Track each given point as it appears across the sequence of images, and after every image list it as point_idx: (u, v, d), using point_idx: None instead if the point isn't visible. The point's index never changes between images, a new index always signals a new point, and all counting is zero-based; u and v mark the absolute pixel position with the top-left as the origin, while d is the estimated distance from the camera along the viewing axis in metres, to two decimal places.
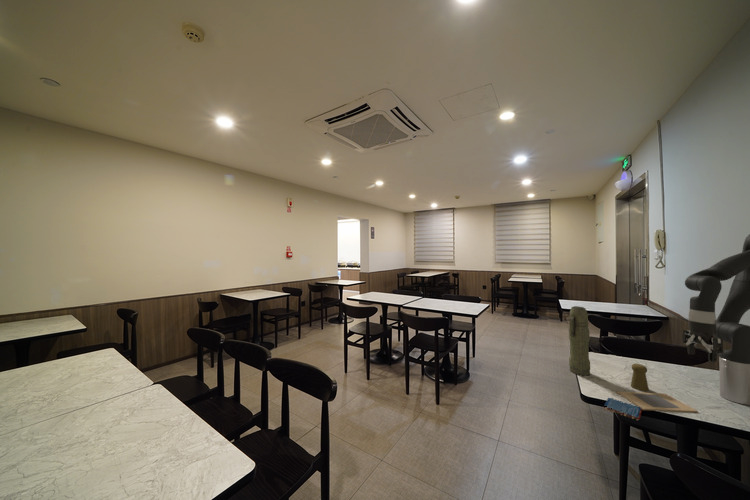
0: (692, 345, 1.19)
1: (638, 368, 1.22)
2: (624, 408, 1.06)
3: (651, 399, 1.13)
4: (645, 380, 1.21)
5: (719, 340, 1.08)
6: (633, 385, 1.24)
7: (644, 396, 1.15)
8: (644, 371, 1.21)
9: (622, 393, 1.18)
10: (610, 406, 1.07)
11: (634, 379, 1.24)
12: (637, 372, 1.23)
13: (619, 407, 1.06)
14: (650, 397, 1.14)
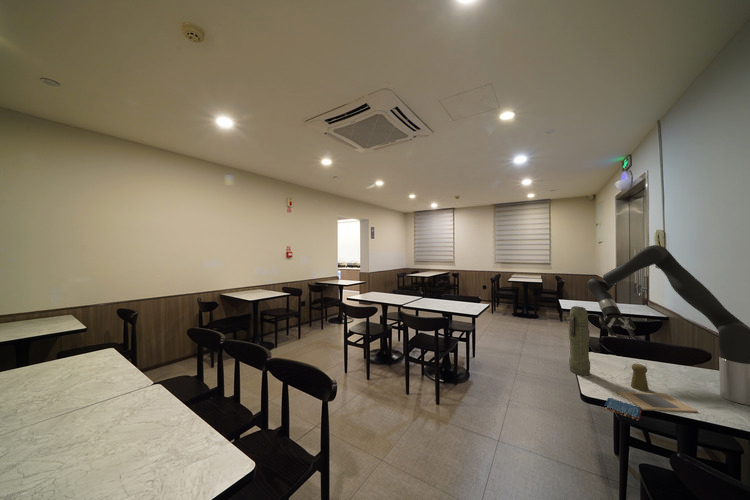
0: (629, 329, 1.36)
1: (638, 368, 1.22)
2: (624, 408, 1.06)
3: (651, 399, 1.13)
4: (645, 380, 1.21)
5: (599, 318, 1.43)
6: (633, 385, 1.24)
7: (644, 396, 1.15)
8: (644, 371, 1.21)
9: (622, 393, 1.18)
10: (610, 406, 1.07)
11: (634, 379, 1.24)
12: (637, 372, 1.23)
13: (619, 407, 1.06)
14: (650, 397, 1.14)
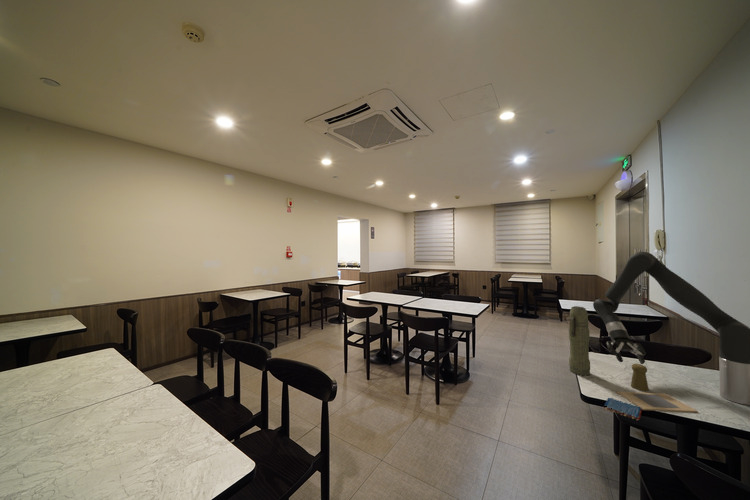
0: (638, 355, 1.30)
1: (638, 368, 1.22)
2: (624, 408, 1.06)
3: (651, 399, 1.13)
4: (645, 380, 1.21)
5: (607, 342, 1.37)
6: (633, 385, 1.24)
7: (644, 396, 1.15)
8: (644, 371, 1.21)
9: (622, 393, 1.18)
10: (610, 406, 1.07)
11: (634, 379, 1.24)
12: (637, 372, 1.23)
13: (619, 407, 1.06)
14: (650, 397, 1.14)
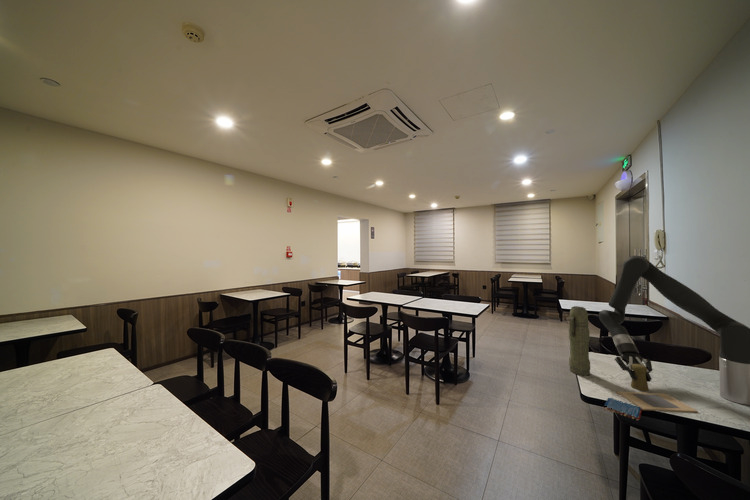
0: None
1: (638, 368, 1.22)
2: (624, 408, 1.06)
3: (651, 399, 1.13)
4: (645, 380, 1.21)
5: (616, 359, 1.30)
6: (633, 385, 1.24)
7: (644, 396, 1.15)
8: (644, 371, 1.21)
9: (622, 393, 1.18)
10: (610, 406, 1.07)
11: None
12: (637, 372, 1.23)
13: (619, 407, 1.06)
14: (650, 397, 1.14)
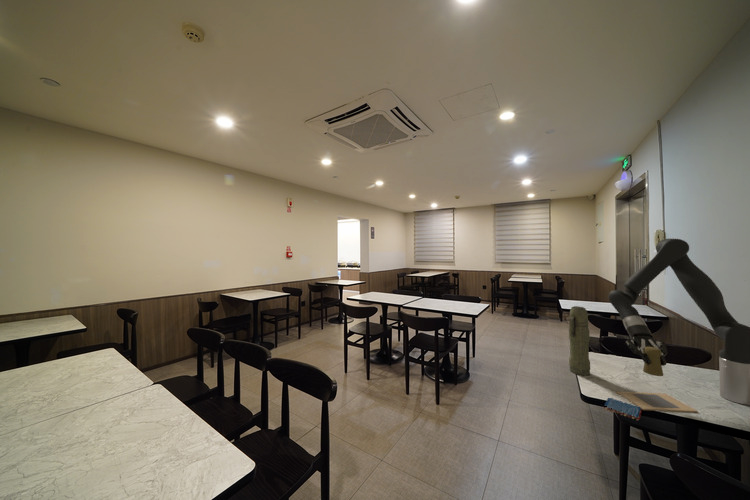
0: None
1: (652, 351, 1.11)
2: (624, 408, 1.06)
3: (651, 399, 1.13)
4: (659, 364, 1.10)
5: (627, 342, 1.19)
6: (646, 370, 1.13)
7: (644, 396, 1.15)
8: (658, 354, 1.10)
9: (622, 393, 1.18)
10: (610, 406, 1.07)
11: None
12: (650, 355, 1.12)
13: (619, 407, 1.06)
14: (650, 397, 1.14)
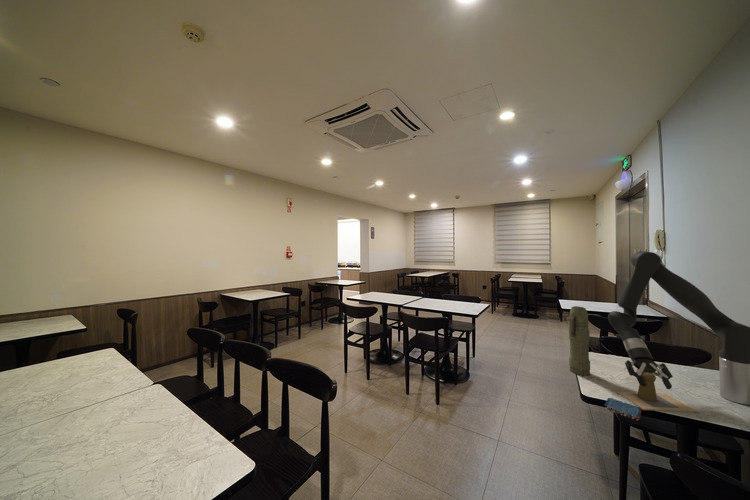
0: (663, 378, 1.12)
1: (646, 376, 1.13)
2: (624, 408, 1.06)
3: None
4: (653, 389, 1.12)
5: (626, 362, 1.19)
6: (640, 394, 1.14)
7: None
8: (653, 379, 1.12)
9: (622, 393, 1.18)
10: (610, 406, 1.07)
11: (641, 388, 1.14)
12: (644, 380, 1.13)
13: (619, 407, 1.06)
14: None
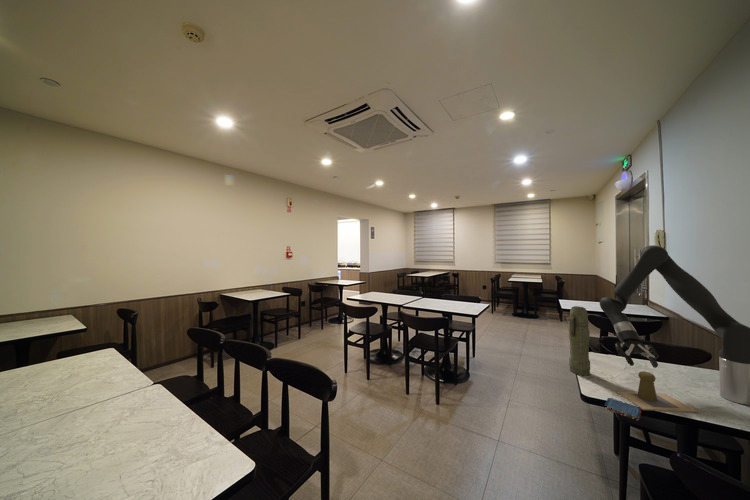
0: (650, 357, 1.20)
1: (646, 376, 1.13)
2: (624, 408, 1.06)
3: None
4: (653, 389, 1.12)
5: (616, 344, 1.27)
6: (640, 395, 1.14)
7: None
8: (652, 380, 1.12)
9: (622, 393, 1.18)
10: (610, 406, 1.07)
11: (641, 388, 1.14)
12: (644, 381, 1.13)
13: (619, 407, 1.06)
14: None
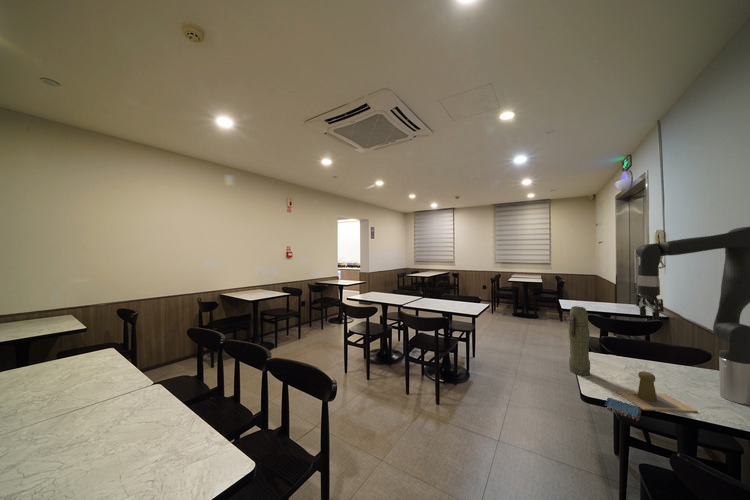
0: (643, 307, 1.32)
1: (646, 376, 1.13)
2: (624, 408, 1.06)
3: None
4: (653, 389, 1.12)
5: (659, 300, 1.21)
6: (640, 395, 1.14)
7: None
8: (652, 380, 1.12)
9: (622, 393, 1.18)
10: (610, 406, 1.07)
11: (641, 388, 1.14)
12: (644, 381, 1.13)
13: (619, 407, 1.06)
14: None
